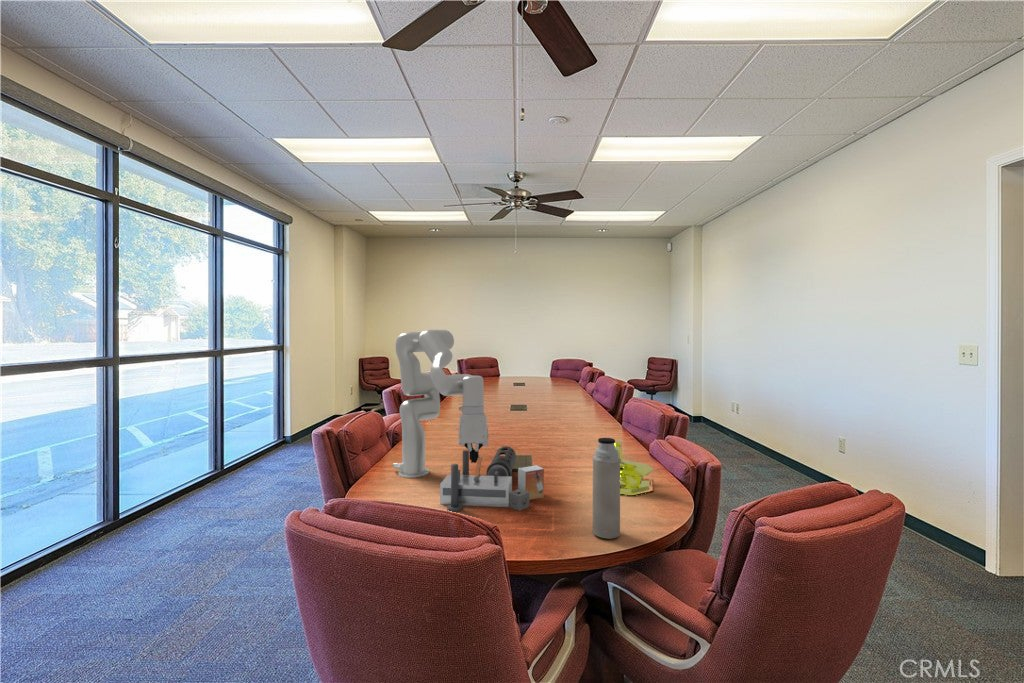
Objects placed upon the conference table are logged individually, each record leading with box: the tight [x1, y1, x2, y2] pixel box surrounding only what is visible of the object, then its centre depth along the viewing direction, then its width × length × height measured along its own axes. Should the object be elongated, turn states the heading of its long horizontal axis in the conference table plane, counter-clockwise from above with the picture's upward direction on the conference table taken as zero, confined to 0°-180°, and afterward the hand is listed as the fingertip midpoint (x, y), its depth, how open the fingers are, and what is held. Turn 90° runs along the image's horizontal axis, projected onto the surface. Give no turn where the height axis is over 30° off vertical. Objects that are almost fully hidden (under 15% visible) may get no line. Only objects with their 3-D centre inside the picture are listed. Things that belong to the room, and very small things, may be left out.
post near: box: [446, 463, 463, 513], centre depth 148 cm, size 5×5×15 cm
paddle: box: [474, 455, 483, 482], centre depth 156 cm, size 2×4×8 cm, turn 174°
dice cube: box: [508, 488, 530, 512], centre depth 150 cm, size 5×5×5 cm
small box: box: [517, 464, 545, 501], centre depth 159 cm, size 8×6×10 cm
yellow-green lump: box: [614, 439, 654, 495], centre depth 173 cm, size 18×25×16 cm
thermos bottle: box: [592, 437, 621, 539], centre depth 130 cm, size 8×8×28 cm
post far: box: [462, 449, 470, 475], centre depth 166 cm, size 5×5×15 cm
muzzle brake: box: [485, 445, 517, 477], centre depth 180 cm, size 10×28×10 cm, turn 174°
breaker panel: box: [439, 469, 513, 508], centre depth 156 cm, size 24×11×10 cm, turn 84°
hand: (474, 461), depth 156 cm, fingers closed
